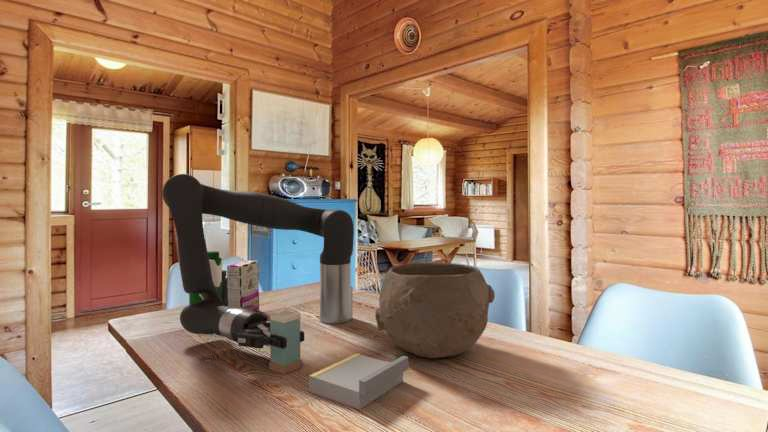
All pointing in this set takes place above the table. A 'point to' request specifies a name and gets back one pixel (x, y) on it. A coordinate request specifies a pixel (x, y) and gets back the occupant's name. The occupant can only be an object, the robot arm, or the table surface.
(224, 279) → the supplement bottle
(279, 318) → the teal tall block
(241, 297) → the candy bar box
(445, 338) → the bowl
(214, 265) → the milk carton
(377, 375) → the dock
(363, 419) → the table surface
